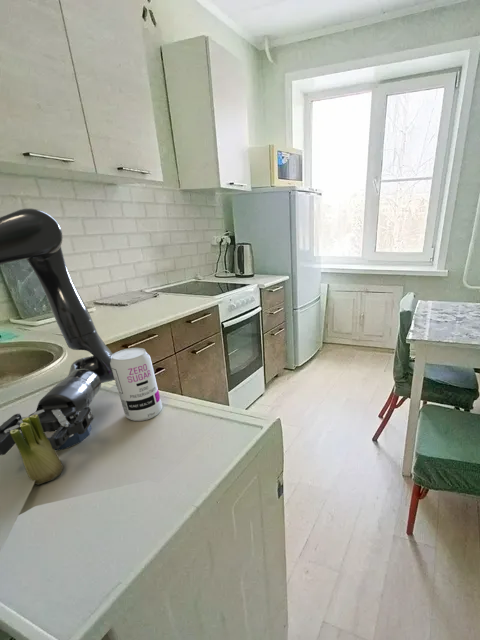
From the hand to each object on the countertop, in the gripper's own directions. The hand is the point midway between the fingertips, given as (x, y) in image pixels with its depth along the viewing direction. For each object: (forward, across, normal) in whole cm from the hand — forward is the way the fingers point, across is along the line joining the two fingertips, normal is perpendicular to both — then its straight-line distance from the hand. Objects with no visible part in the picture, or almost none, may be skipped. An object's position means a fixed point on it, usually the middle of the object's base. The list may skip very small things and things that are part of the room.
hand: (26, 447), depth 58 cm
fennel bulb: (-2, 0, +8) cm, 8 cm away
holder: (-16, -3, +8) cm, 18 cm away
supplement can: (-22, +12, +8) cm, 27 cm away
